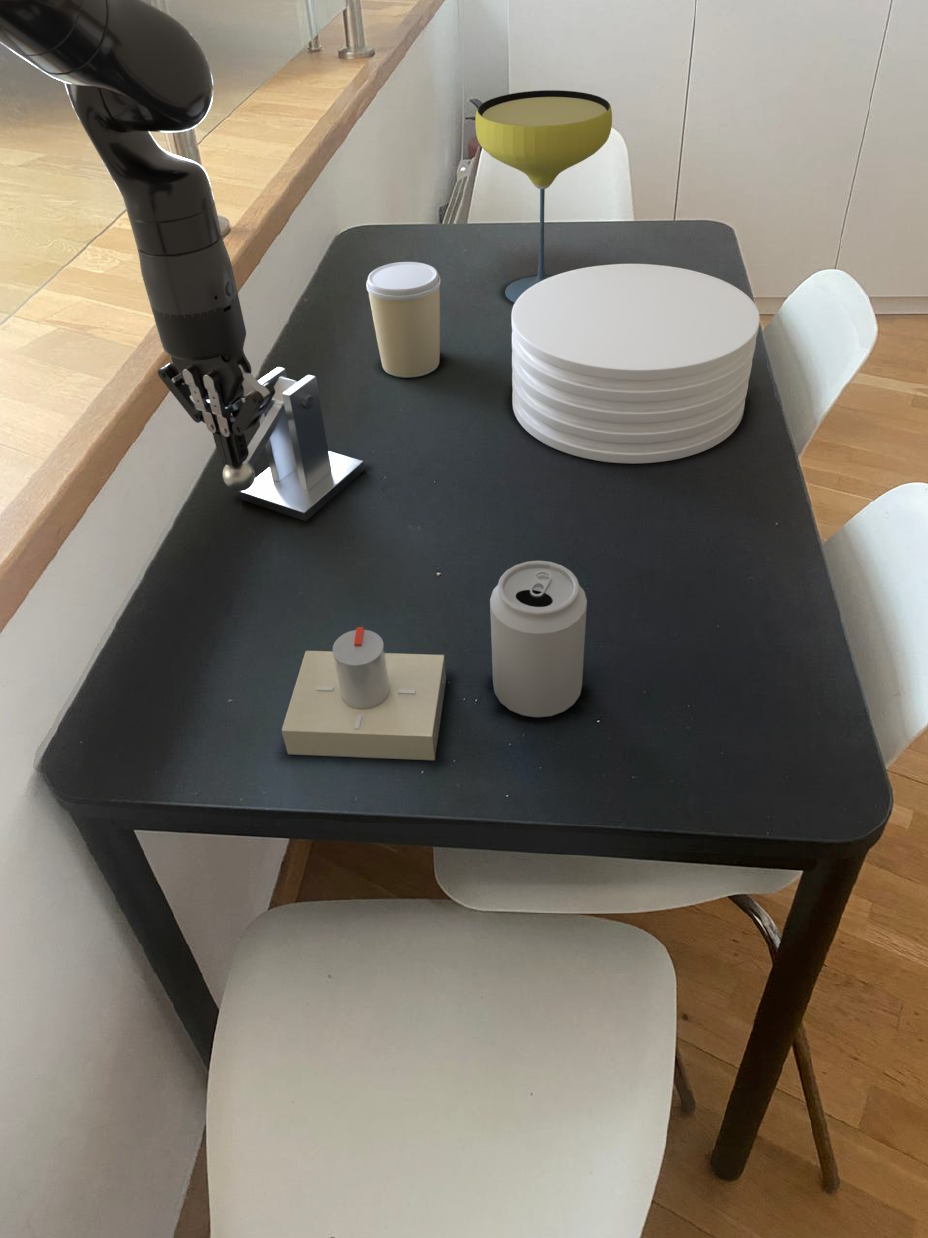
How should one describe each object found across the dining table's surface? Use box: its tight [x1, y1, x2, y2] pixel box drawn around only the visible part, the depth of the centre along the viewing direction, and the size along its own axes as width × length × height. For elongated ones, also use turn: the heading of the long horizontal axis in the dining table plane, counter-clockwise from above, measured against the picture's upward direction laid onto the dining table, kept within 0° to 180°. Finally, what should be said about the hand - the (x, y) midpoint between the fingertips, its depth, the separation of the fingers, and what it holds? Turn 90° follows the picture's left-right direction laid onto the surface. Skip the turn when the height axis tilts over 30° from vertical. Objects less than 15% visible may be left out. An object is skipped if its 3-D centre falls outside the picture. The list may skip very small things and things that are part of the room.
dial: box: [332, 626, 390, 709], centre depth 73 cm, size 4×4×5 cm
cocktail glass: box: [474, 89, 613, 304], centre depth 129 cm, size 18×18×25 cm
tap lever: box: [222, 377, 298, 492], centre depth 94 cm, size 13×3×3 cm, turn 150°
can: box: [489, 560, 588, 718], centre depth 74 cm, size 8×8×12 cm
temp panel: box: [281, 650, 447, 761], centre depth 76 cm, size 12×9×3 cm
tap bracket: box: [238, 366, 365, 522], centre depth 99 cm, size 11×9×13 cm
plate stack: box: [510, 263, 761, 464], centre depth 109 cm, size 28×28×12 cm
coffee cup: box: [365, 261, 441, 378], centre depth 119 cm, size 9×9×12 cm
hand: (235, 461), depth 92 cm, fingers closed
